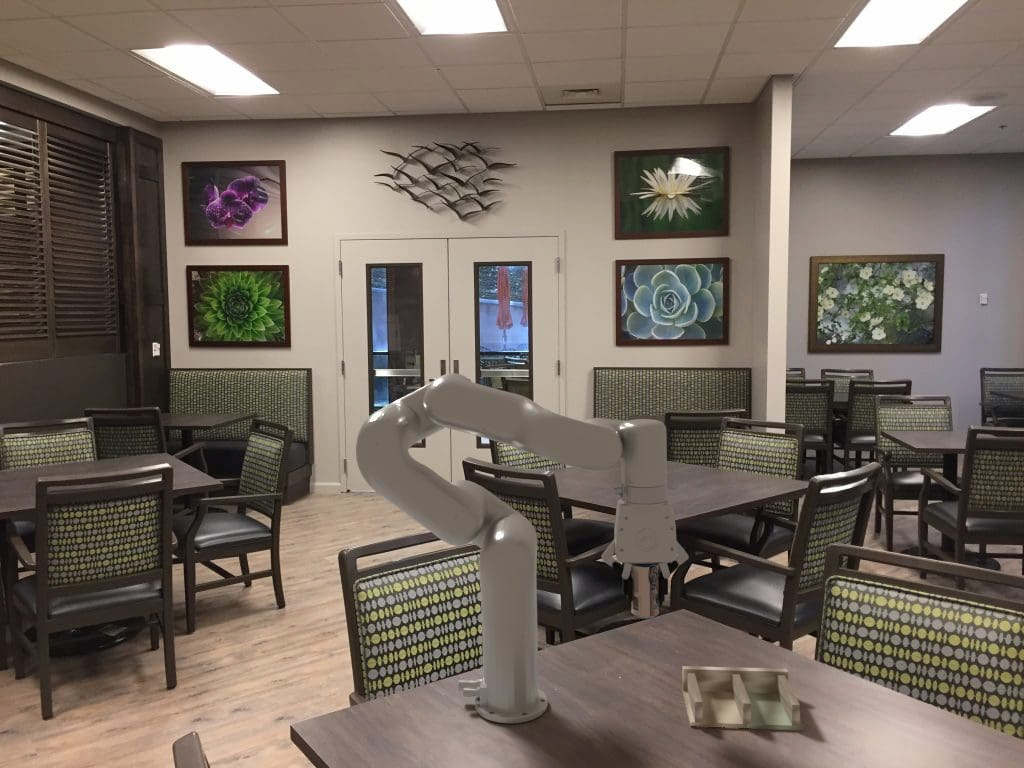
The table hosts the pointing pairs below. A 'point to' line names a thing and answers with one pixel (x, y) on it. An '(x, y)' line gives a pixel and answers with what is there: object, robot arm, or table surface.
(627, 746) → the table surface
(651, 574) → the beer can
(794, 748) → the table surface
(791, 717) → the comb rack
